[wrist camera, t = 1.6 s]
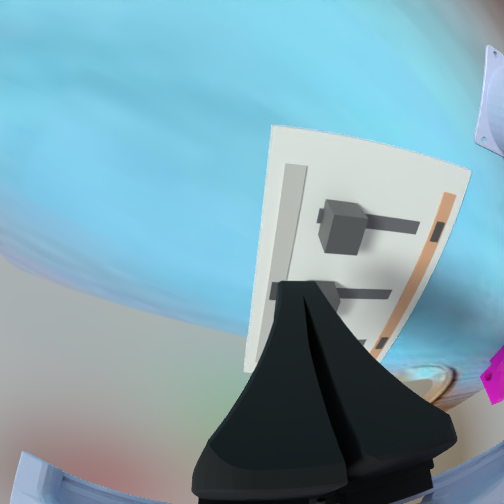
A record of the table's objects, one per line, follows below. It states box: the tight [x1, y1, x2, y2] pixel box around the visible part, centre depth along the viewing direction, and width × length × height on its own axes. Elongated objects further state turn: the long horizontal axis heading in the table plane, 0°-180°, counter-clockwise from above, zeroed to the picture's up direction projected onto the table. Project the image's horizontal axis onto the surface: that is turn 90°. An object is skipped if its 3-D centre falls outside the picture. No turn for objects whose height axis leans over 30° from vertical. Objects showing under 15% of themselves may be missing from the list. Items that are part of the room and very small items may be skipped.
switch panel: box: [244, 124, 472, 373], centre depth 21 cm, size 14×22×2 cm, turn 175°
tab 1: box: [307, 280, 341, 312], centre depth 19 cm, size 2×2×2 cm
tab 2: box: [318, 199, 368, 256], centre depth 16 cm, size 2×2×2 cm
